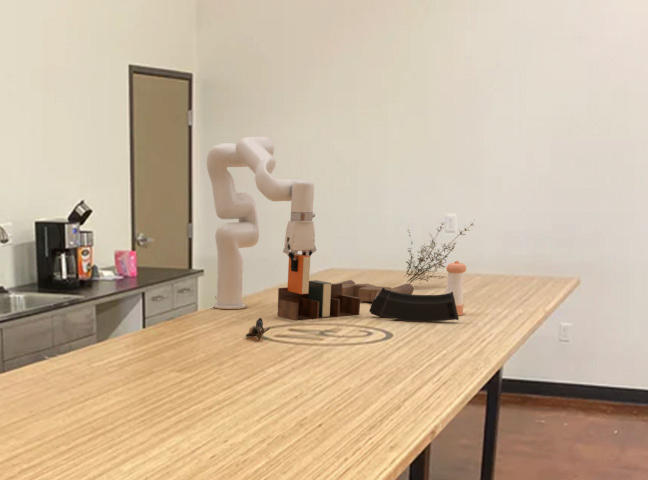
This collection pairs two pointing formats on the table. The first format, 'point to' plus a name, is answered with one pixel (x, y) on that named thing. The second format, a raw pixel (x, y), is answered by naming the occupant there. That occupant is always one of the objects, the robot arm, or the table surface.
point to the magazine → (414, 306)
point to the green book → (321, 296)
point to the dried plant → (430, 259)
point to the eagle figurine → (257, 330)
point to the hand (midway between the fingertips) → (298, 270)
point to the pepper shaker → (456, 283)
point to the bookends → (370, 290)
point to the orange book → (299, 275)
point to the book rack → (315, 305)
